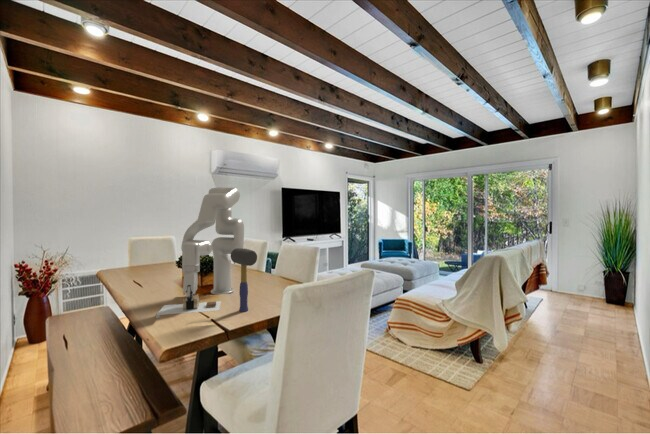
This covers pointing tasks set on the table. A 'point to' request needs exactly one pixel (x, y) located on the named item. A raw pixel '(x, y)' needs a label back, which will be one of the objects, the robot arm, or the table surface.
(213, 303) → the walnut offcut
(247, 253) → the rubber mallet
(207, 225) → the robot arm
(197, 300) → the sanding block
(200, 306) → the board
